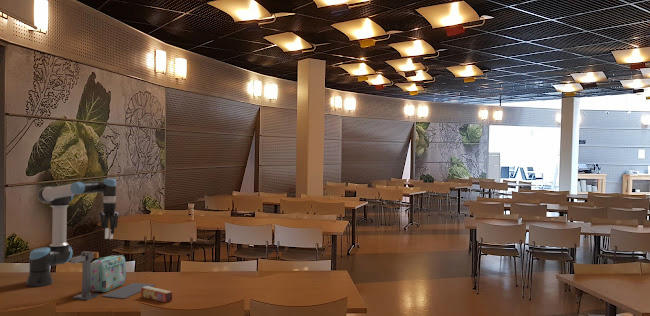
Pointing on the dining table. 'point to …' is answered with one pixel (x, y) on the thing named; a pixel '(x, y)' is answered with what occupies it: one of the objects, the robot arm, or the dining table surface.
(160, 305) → the dining table surface
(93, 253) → the bolt
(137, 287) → the mat
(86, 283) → the latch post
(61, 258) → the robot arm
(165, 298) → the snack package
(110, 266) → the lunch box
